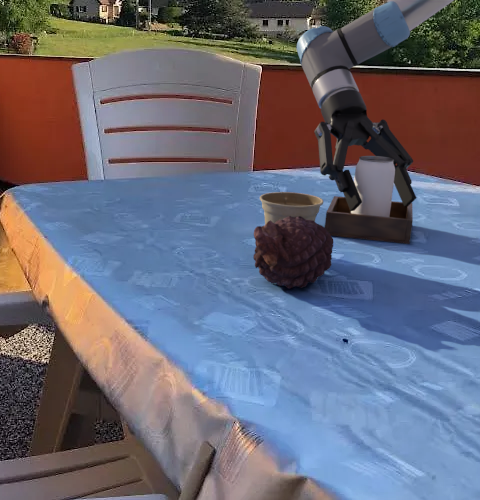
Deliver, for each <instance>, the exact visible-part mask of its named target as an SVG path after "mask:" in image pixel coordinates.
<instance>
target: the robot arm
mask: <svg viewBox="0 0 480 500" xmlns="http://www.w3.org/2000/svg"><path fill="white" fill-rule="evenodd" d="M454 1H455V0H386V1H385V2H384V3H382V4H381V5H379V6H376V7H375V8H373V9H372V10H370V11H369V12H367V13H365V14H363V15H361V16H359V17H358V18H356V19H355V20H353V21H351V22H349V23H347V24H346V25H344V26H343V27H340V28H338V29H335V30H333V29H331V27H328V26H325V25H320V26H318V27H312V28H309V29H308V30H307V31H305V32H304V33H303V34H302V35H300V37H299V39H298V40H297V43H296V52H297V55H298V57H299V61H300V63H299V64H300V66H301V67H302V70H303V73H304V74H305V77H306V79H307V81H308V83H309V84H308V85H309V86H310V88H311V91H312V93H313V97H314V98H315V100H316V103H317V106H318V108H319V109H320V113H321V115H322V118H323V121H320V122H319V124H318V125H317V127H316V128H315V130H314V135H315V138H316V140H317V144H318V159H319V171H320V174H321V175H322V176H327V175H328V178H329V180H331V181H334V182H335V184H336V186H337V189H338V191H339V192H340V193H343V197H345V198H346V201H347V203H348V206H349V208H350V211H355V209H356V208H357V207H358V206H359V205H360V204H361V203H362V200H361V198H360V196H359V193H358V191H357V188H356V186H355V183H354V178H353V177H352V174H351V171H350V169H345V163H346V160H347V153H348V149H349V147H352V146H361V147H362V148H363V149H364V150H368V151H370V152H371V153H372V154H373V156H382V157H388V158H392V159H394V161H393V164H394V167H395V176H394V186H395V189H396V191H397V194H398V196H399V198H400V200H401V202H402V203H403V205H404V207H406V206H409V205H410V204H411V203H412V204H413V202H414V201H415V200H416V199H417V196H416V193H415V192H414V189H413V187H412V183H413V182H412V179H411V177H410V173H409V172H408V170H407V169H408V168H409V167H410V166H411V165H412V164H413V163H414V159H413V157H412V156H411V155H410V154H409V152H408V151H407V150H406V148H405V147H404V146H403V145H402V143H401V142H400V140H399V139H398V138H397V137H396V136H395V135H394V133H393V132H392V131H391V129H390V127H389V125H388V122H387V120H386V119H381V120H379V122H373V121H372V120H371V119H370V118H369V117H368V115H367V114H368V113H367V111H368V110H367V105H366V103H365V100H364V99H363V96H362V94H361V92H360V90H359V87H358V85H357V83H356V81H355V78H354V76H353V74H352V72H351V70H350V69H352V68H354V67H356V66H359V64H361V63H364V62H365V61H367V60H370V59H371V58H374V57H376V56H378V55H379V54H381V53H383V52H385V51H387V50H389V49H391V48H394V47H396V46H398V45H399V44H401V43H402V42H403V41H405V40H407V39H408V38H409V37H410V35H411V31H412V30H414V29H415V28H417V27H418V26H420V25H421V24H422V23H424V22H425V21H427V20H429V19H430V18H431V17H433V16H434V15H435V14H437V13H438V12H439V11H441V10H442V9H443V8H445V7H446V6H448V5H450V4H452V2H454ZM332 136H333V137H335V138H336V142H335V147H334V149H335V152H334V156H333V147H332Z"/></svg>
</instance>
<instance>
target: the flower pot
mask: <svg viewBox="0 0 480 500" xmlns="http://www.w3.org/2000/svg"><path fill="white" fill-rule="evenodd" d="M259 200H260V202H261V208H262V210H263V214H264V215H263V216H264V225H265V224H266V223H267V222H268V221H270V220H271V221H272V222H273V223H276V222H277V221H278V220H280V219H282V220H283V219H284V218H286V217H288V216H291V217H293V218H294V217H298V216H301V217H303V218H304V219H307V220H313V221H315V222H316V219H317V215H318V213H319V212H320V208H321V206H322V205H323V204H324V199H322V197H319V196H316V195H313V194H310V193H303V192H302V193H301V192H293V191H275V192H274V191H273V192H272V191H271V192H266V193H263V194H261V195H260V196H259Z"/></svg>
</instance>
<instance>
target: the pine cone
mask: <svg viewBox="0 0 480 500" xmlns="http://www.w3.org/2000/svg"><path fill="white" fill-rule="evenodd" d="M253 238H254V241H255V242H254V244H255V248H254V254H253V260H254V267H255V269H257V268H258V273H259V275H260V276H262V277H263V278H264V279H265V280H267V282H268V283H270V284H276V285H277V286H278V287H281V286H284V287H286V288H287V289H288V290H290V289H294V288H295V287H298V288H300V289H302V288H305V287H307V285H308V284H315V283H316V282H317V280H318V278H319V277H321V276H323V275H324V274H325V272H327V271H328V270H329V269H331V267H332V264H333V263H332V260H333V258H332V257H333V255H332V254H333V248H334V238H333V236H331V235H330V233H329V232H327V230H326V229H325V226H323V225H321V224H319V223H317V222H316V220H315V221H313V220H307V219H304V218H303V217H301V216H298V217H294V218H293V217H291V216H288V217H286V218H284V219H283V220H282V219H280V220H278V221H277V222H276V223H273V222H272V221H271V220H270V221H268V222H267V223H266V224H265V223H264V225H259V226H256V227H254V230H253Z"/></svg>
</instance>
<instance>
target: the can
mask: <svg viewBox="0 0 480 500" xmlns="http://www.w3.org/2000/svg"><path fill="white" fill-rule="evenodd" d="M393 161H394V159H392V158H388V157H382V156H375V155H362V156H361V155H360V156H359V160H358V162H357V164H356V165H355V168H354V178H353V181H354V183H355V186H356V188H357V191H358V193H359V196H360V198H361V200H362V203H361V204H360V205H359V206H358V207H357V208H356V209H355V211H351V214H361V215H372V216H382V217H390V209H391V201H393V192H394V186H395V184H394V176H395V167H394V164H393Z"/></svg>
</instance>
